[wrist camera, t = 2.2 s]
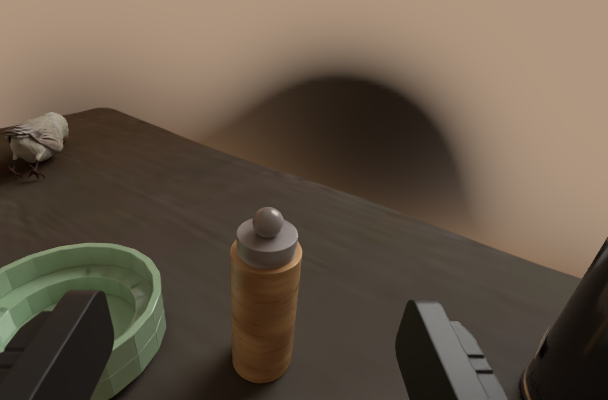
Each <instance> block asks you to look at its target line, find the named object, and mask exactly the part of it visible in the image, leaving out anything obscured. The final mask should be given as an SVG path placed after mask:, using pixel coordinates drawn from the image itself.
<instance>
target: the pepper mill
mask: <svg viewBox="0 0 608 400" xmlns="http://www.w3.org/2000/svg"><path fill="white" fill-rule="evenodd" d="M297 241H298V232H297V230H296V228H295V227H294V226H293V225H292V224H291V223H289V222H288V221H286V220H283V217H282V215H281V213H280V212H279V211H278V210H276V209H275V208H272V207H264V208H262V209H260V210H258V211H257V212H256V213H255V215H254V217H253V219H250V220H247V221H245V222H244V223H242V224H241V225H240V226H239V228H238V230H237V240H236V241H235V242H234V243H233V245H232V247H231V314H232V362H233V366H234V368H235V370H236V372H237V373H238V374H239V375H240V376H241V377H242V378H244V379H246V380H248V381H250V382H254V383H267V382H271V381H274V380H276V379H278V378H279V377H281V376H282V375H283V374H284V373H285V372H286V370H287V369H288V367H289V365H290V362H291V354H292V345H293V335H294V326H295V317H296V307H297V298H298V288H299V279H300V270H301V260H302V249H301V246H300V244H299V243H298V242H297Z"/></svg>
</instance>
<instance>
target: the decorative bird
mask: <svg viewBox="0 0 608 400" xmlns="http://www.w3.org/2000/svg"><path fill="white" fill-rule="evenodd" d="M7 130H8V131H5V132H2V133H0V134H4V133H7V136H5V137H7V141H8V143H9V144H10V146H11V150H12V151H13V166H12V169H11V168H10V167H9V166H8V165H6V166H7V167H8V173H7V175H6V177H7V176H8V175H10V174H11V175H13V176H14V177H15V179H16V175H19V176H20V177H22V176H21V175H20V174H19V173H17V172H15V171H14V168H15V166H16V160H17V159H18V158H19V157H20V158H22V159H24V160H25V161H27V162H29V163H36V166H35V168H33V166H31V165H30V167H31V169H32V170H31V173H30V174H29V176H28V178H29V177H30V176H31V175H32V174H35V175H36V176H37V178H38V180H39V176H38V174H39V175H42V176H43V177H44V175H43V174H41V173H40V172H38V171H37V167H38V162H41V161H44V160H46V159H48V158H49V157H51V156H53V155H54V154H55V153H56V152H57V153H60V152H61V150H62V148H63V142H65V141H66V140H67V138H68V131H69V126H68V124H67V122H66V120H65V118H64V117H62V116H61V115H59V114H56V113H53V112H49V113H46V114H44V115H42V116H41V117H37V118H34V119H30V120H28V121H25V122H24V123H22V124H21V125H20V126H16V127H15V128H9V129H7ZM15 174H16V175H15ZM6 177H5V178H6ZM44 178H45V177H44Z"/></svg>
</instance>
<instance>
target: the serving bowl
mask: <svg viewBox="0 0 608 400" xmlns="http://www.w3.org/2000/svg"><path fill="white" fill-rule="evenodd" d="M69 290H101V291H104V293H105V294H106V298H107V302H108V307H109V311H110V315H111V319H112V324H113V328H114V345H113V349H112V353H111V356H110V358H109V360H108V362H107V364H106V366H105V369H104V371H103V373H102V375H101V377H100V379H99V381H98V384H97V386H96V388H95V390H94V392H93V394H92V396H91V399H90V400H109V399H110V398H112V397H113V396H115V395H116V394H117V393H119V392H120V391H121V390H122V389H123V388H125V387H126V386H127V385H128V384H129V383H131V382H132V381H133V380H134V379H135V378H137V377H138V376H139V375H140V374H141V373H142V372H143V371H144V369H145V368H146V366H147V365H148V364H149V362H150V361H151V360H152V358H153V357H154V356H155V354H156V353H157V351H158V350H159V348H160V345H161V342H162V339H163V336H164V333H165V330H166V315H165V305H164V298H163V291H162V284H161V277H160V272H159V271H158V269H157V268H156V266H155V265H154V263H153V262H152V260H151V259H150V258H148V257H147V256H145V255H143V254H142V253H140V252H138V251H137V250H135V249H132V248H128V247H124V246H120V245H116V244H107V243H83V244H75V245H68V246H61V247H56V248H53V249H49V250H46V251H42V252H39V253H35V254H32V255H29V256H27V257H24V258H22V259H20V260H18V261H15V262H13V263H11V264H9V265H6V266H4V267H2V268H0V353H1V352H3V351H4V349H5V346H6V345H7V344H8V342H9V341H10V340H11V339H12V337H13V336H14V335H15V333H16V332H17V331H18V330H19V328H20V327H21V326H23V325H24V324H25V323H27V322H28V321H29V320H31V319H32V318H33V317H35V316H36V315H37V314H39V313H40V312H41V311H53V309H54V308H55V306H56V305H57V304H58V302H59V301H60V299H61V298H62V297H63V295H64V294H65V293H66V292H67V291H69Z"/></svg>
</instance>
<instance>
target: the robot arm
mask: <svg viewBox="0 0 608 400" xmlns="http://www.w3.org/2000/svg"><path fill="white" fill-rule="evenodd" d="M549 326H550V325H549ZM548 329H549V327H548ZM548 329H547V330H546V332H545V334H544V335H543V337H542V339H541V342H540V344H539V347H538V350H537V352H536V355H535V356H534V358H533V359H532V360H531V361H530V362H529V364H528V365H527V366H526V368H525V370H524V372H523V373H522V376H521V393H522V397H523V400H608V237H607V239H606V241H605V242H604V244H603V246H602V247H601V249H600V251H599V252H598V254H597V255H596V257H595V259H594V260H593V262H592V264H591V265H590V267H589V268H588V270H587V272H586V273H585V275H584V277H583V278H582V280H581V282H580V283H579V285H578V286H577V288H576V290H575V291H574V293H573V295H572V296H571V298H570V299H569V301H568V303H567V304H566V306H565V308H564V309H563V311H562V313H561V314H560V316H559V317H558V319H557V321H556V322H555V324H554V326H553V327H552V329H551V330H550V332H549V334H548V335H547V337H546V334H547V331H548ZM545 337H546V339H545ZM544 339H545V340H544ZM113 345H114V328H113V324H112V319H111V315H110V311H109V307H108V302H107V298H106V294H105V293H104V291H101V290H69V291H67V292H66V293H65V294H64V295H63V297H62V298H61V299H60V301H59V302H58V304H57V305H56V306H55V308H54V309H53V311H41V312H40V313H39V314H37V315H36V316H35V317H33V318H32V319H31V320H29V321H28V322H27V323H25V324H24V325H23V326H21V327H20V328H19V330H18V331H17V332H16V333H15V335H14V336H13V337H12V339H11V340H10V341H9V342H8V344H7V345H6V346H5V349H4V351H3V352H1V353H0V400H90V399H91V396H92V394H93V392H94V390H95V388H96V386H97V384H98V381H99V379H100V377H101V375H102V373H103V371H104V369H105V366H106V364H107V362H108V360H109V358H110V356H111V353H112V349H113ZM395 349H396V357H397V361H398V364H399V368H400V371H401V374H402V377H403V380H404V383H405V386H406V389H407V393H408V396H409V399H410V400H509V398H508V396H507V394H506V393H505V391H504V389H503V387H502V386H501V384H500V382H499V380H498V379H497V377H496V375H494V374H493V370H492V368H491V366H490V364H489V363H488V361H487V359H485V358H484V354H483V352H482V350H481V348H480V347H479V345H478V343H477V341H476V340H475V338H474V336H473V335H472V334H471V333H470V332H469V331H468V330H467V329H466V328H464V327H463V326H462V325H461V324H460V323H459V322H458V321H449V319H448V317H447V315H446V313H445V311H444V309H443V307H442V305H441V304H440V303H439V302H438V301H433V300H409V301H408V302H407V305H406V308H405V311H404V314H403V317H402V320H401V323H400V327H399V330H398V333H397V336H396V343H395Z"/></svg>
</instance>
